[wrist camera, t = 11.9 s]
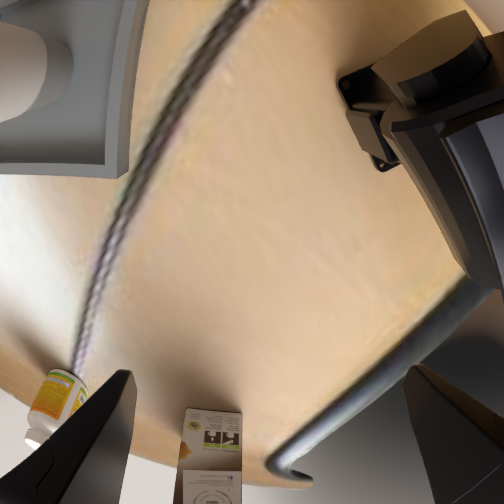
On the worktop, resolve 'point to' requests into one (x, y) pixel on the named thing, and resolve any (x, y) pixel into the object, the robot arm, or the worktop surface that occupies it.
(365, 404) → the worktop surface
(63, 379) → the supplement bottle
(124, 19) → the tray
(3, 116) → the cup
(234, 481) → the coffee box
